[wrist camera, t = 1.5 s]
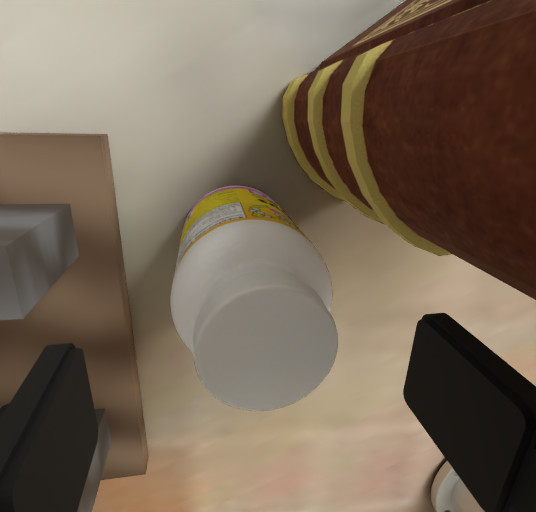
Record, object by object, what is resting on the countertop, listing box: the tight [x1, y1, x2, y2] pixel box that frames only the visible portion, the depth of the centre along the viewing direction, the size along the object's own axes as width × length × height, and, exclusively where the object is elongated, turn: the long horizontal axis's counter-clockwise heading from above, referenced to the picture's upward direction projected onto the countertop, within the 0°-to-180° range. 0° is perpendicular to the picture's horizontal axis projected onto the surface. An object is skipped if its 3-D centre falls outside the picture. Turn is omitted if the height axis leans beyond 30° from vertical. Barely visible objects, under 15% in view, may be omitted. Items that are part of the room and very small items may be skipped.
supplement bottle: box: [170, 186, 338, 411], centre depth 17 cm, size 7×7×13 cm
